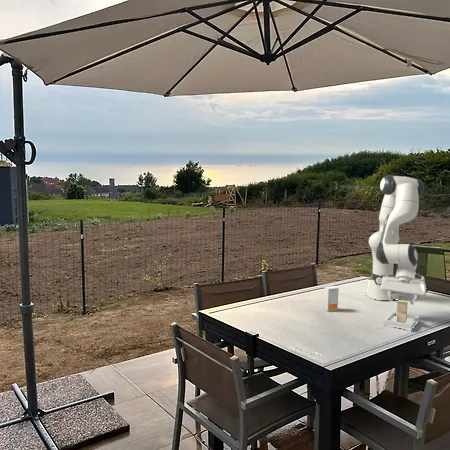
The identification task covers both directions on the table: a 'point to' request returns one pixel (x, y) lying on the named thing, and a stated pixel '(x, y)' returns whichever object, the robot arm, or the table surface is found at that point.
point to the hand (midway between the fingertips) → (401, 302)
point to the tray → (388, 322)
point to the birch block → (402, 311)
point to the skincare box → (331, 298)
